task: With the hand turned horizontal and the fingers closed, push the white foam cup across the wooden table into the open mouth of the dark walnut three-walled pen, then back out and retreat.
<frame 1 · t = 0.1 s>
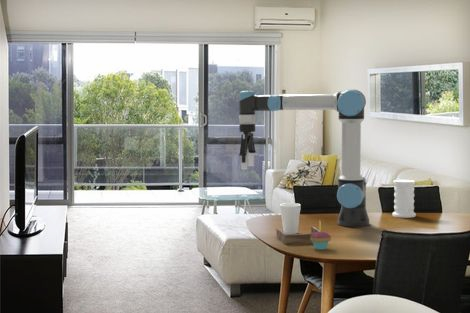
hand: (247, 167, 355), 28 cm above the table, tool pointing down, fingers open, 13 cm apart
cupcake: (320, 249, 305), on the table
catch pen: (299, 239, 323), on the table
foam cup: (290, 233, 339), on the table
decorative container: (404, 216, 380), on the table
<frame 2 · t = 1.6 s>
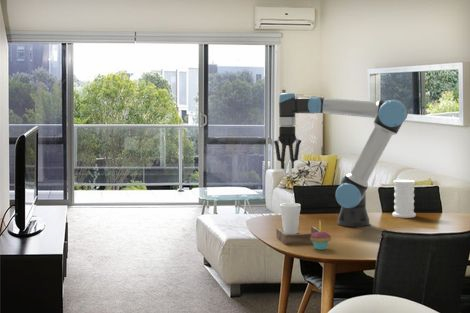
hand: (287, 175, 352), 24 cm above the table, tool pointing down, fingers open, 2 cm apart
nothing on the table moved.
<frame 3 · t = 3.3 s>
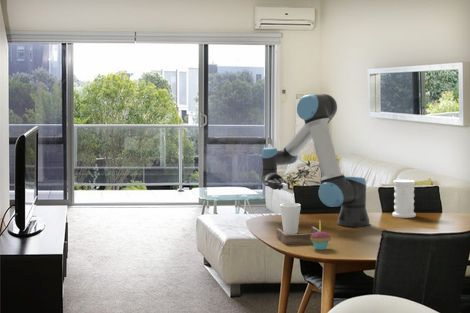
hand: (286, 187, 344), 20 cm above the table, tool horizontal, fingers closed
nothing on the table moved.
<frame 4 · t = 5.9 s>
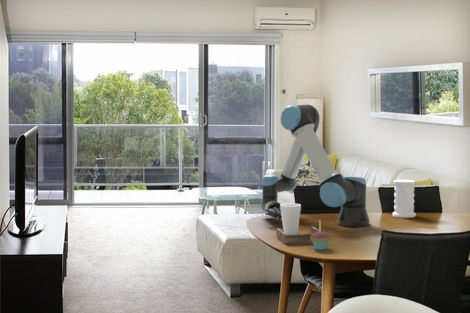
hand: (286, 217, 342), 6 cm above the table, tool horizontal, fingers closed
foam cup: (290, 233, 338), on the table, touching gripper
everything else where it was.
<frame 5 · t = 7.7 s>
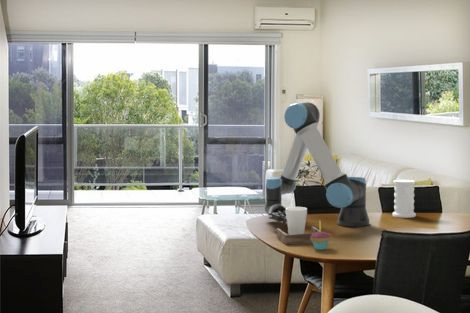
hand: (290, 221, 332), 6 cm above the table, tool horizontal, fingers closed
foam cup: (296, 238, 328), on the table, touching gripper
everything else where it was.
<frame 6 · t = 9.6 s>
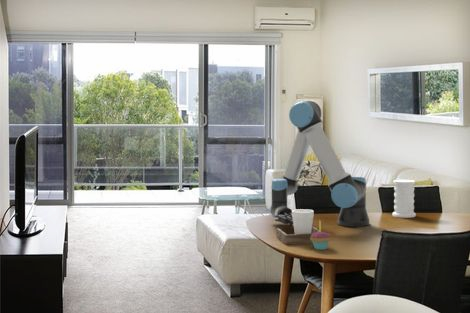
hand: (297, 223, 325), 7 cm above the table, tool horizontal, fingers closed
foam cup: (302, 241, 321), on the table, touching gripper
everything else where it was.
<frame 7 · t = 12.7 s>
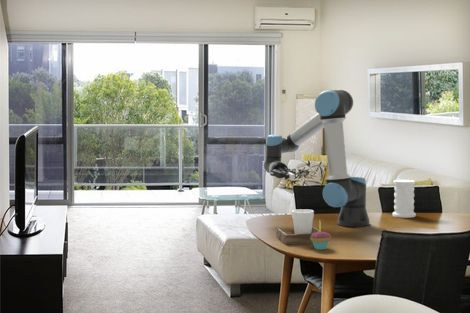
hand: (293, 177, 336), 25 cm above the table, tool horizontal, fingers closed
foam cup: (302, 241, 321), on the table
everything else where it was.
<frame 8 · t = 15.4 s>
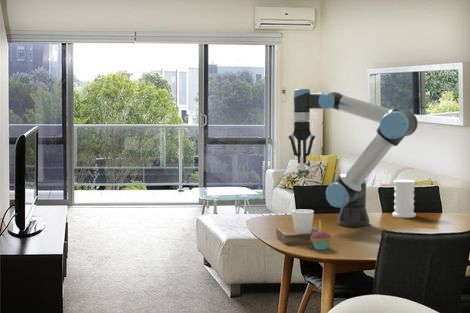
hand: (302, 170, 356), 26 cm above the table, tool pointing down, fingers closed
nothing on the table moved.
at the end: foam cup 2.1 cm from the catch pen (horizontally); foam cup on the table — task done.
